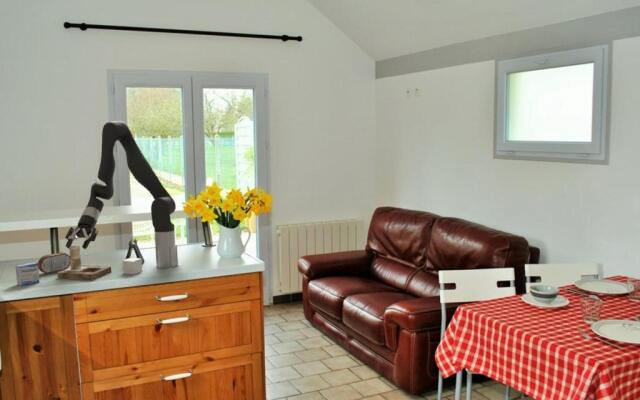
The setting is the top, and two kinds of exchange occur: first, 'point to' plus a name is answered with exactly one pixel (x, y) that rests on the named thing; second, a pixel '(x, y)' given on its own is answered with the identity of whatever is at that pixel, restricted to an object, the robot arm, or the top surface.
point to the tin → (54, 262)
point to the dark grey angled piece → (136, 249)
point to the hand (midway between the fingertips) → (75, 247)
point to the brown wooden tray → (85, 273)
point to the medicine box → (27, 273)
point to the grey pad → (75, 270)
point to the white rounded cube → (132, 265)
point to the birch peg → (75, 257)
